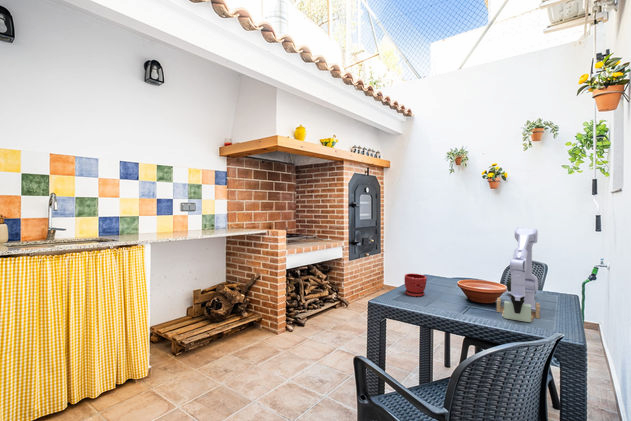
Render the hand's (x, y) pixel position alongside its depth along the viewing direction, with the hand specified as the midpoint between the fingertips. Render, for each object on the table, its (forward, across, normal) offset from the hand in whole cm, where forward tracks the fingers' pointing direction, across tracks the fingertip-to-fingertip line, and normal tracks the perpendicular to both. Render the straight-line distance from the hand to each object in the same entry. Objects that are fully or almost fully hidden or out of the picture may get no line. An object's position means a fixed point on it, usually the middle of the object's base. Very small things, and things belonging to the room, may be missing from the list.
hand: (517, 311), depth 158 cm
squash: (+4, -50, +1) cm, 50 cm away
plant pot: (+4, -18, -54) cm, 57 cm away
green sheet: (+3, 0, 0) cm, 3 cm away
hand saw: (+4, -48, -8) cm, 49 cm away
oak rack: (+4, -12, 0) cm, 12 cm away
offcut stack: (+4, -4, 0) cm, 6 cm away
